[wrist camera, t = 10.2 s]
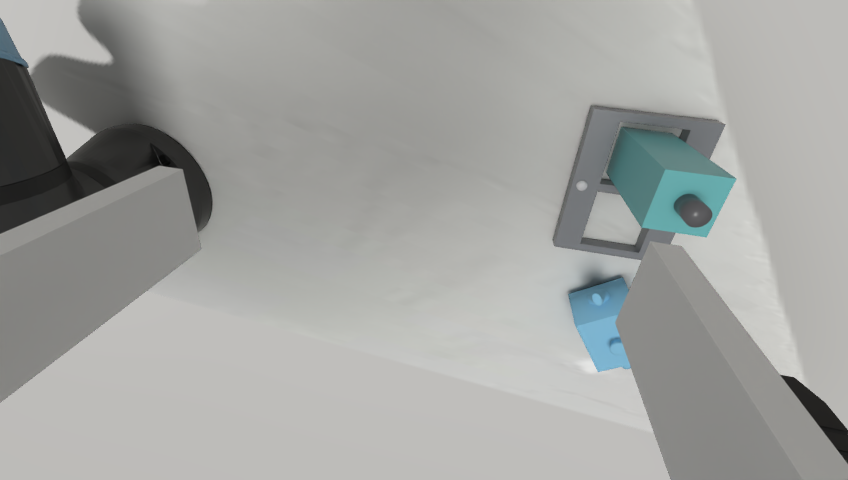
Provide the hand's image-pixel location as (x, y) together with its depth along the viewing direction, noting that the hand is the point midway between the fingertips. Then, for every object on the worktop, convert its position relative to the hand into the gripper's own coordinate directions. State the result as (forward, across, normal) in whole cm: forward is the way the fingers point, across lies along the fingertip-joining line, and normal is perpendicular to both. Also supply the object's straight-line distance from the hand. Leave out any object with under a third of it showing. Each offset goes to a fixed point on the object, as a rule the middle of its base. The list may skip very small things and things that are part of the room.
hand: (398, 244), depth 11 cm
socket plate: (+31, +16, -8) cm, 36 cm away
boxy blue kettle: (+31, +18, -22) cm, 42 cm away
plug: (+31, +16, -4) cm, 35 cm away
